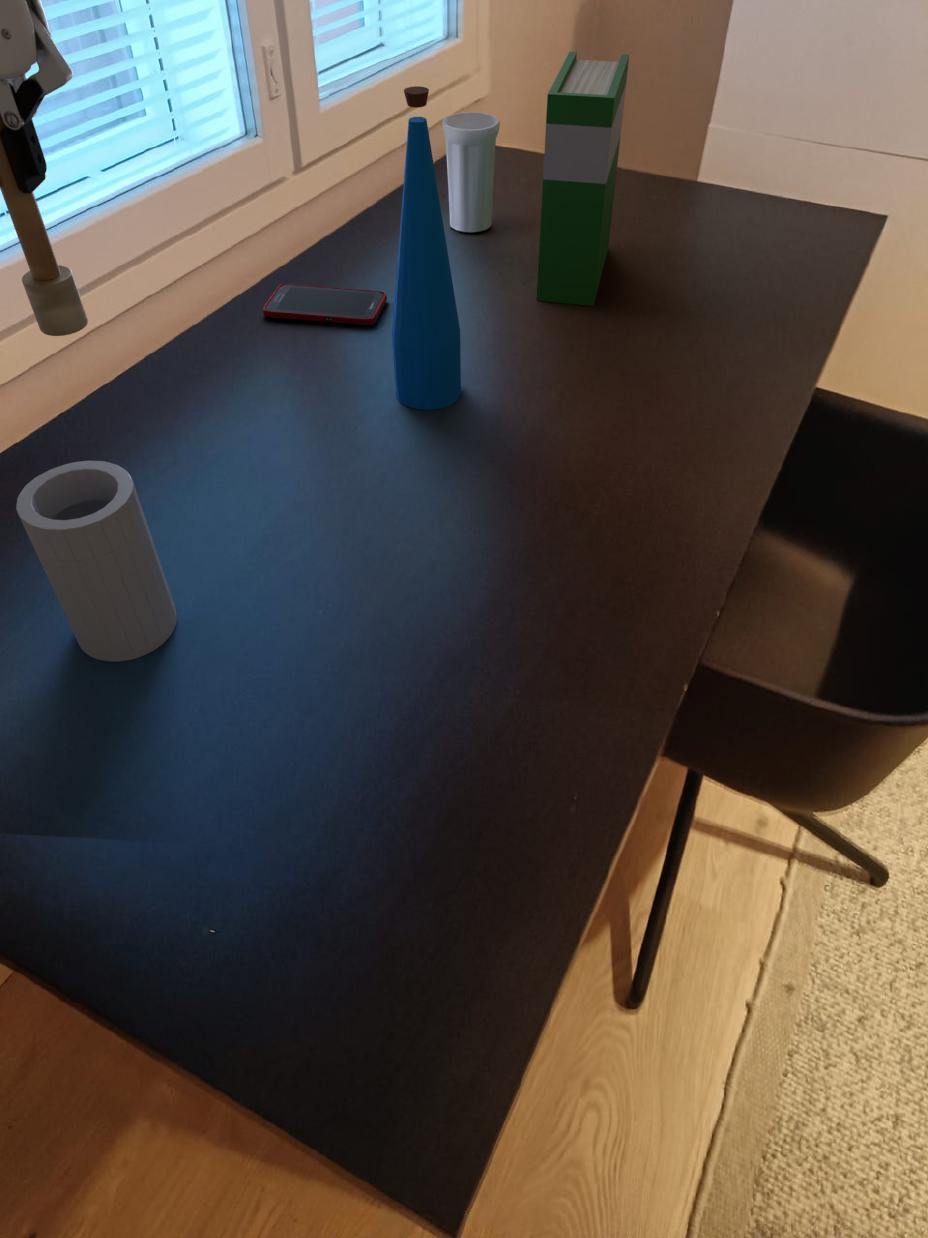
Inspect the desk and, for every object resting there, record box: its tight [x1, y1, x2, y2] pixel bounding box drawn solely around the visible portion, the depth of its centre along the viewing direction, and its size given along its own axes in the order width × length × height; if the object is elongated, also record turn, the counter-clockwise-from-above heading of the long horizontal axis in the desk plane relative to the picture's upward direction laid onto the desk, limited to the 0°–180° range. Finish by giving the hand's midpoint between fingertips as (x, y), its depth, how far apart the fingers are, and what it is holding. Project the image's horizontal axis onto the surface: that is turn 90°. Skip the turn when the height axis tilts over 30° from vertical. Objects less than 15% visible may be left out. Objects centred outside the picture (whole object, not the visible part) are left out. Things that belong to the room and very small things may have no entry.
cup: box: [440, 111, 501, 233], centre depth 128 cm, size 8×8×14 cm
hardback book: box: [536, 51, 630, 307], centre depth 113 cm, size 18×7×24 cm, turn 167°
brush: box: [0, 114, 89, 337], centre depth 64 cm, size 4×4×16 cm
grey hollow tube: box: [15, 460, 178, 663], centre depth 71 cm, size 8×8×14 cm
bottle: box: [391, 85, 462, 411], centre depth 90 cm, size 7×7×30 cm
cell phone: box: [262, 283, 388, 326], centre depth 115 cm, size 8×15×1 cm, turn 80°
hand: (14, 183), depth 62 cm, fingers closed on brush, 2 cm apart
